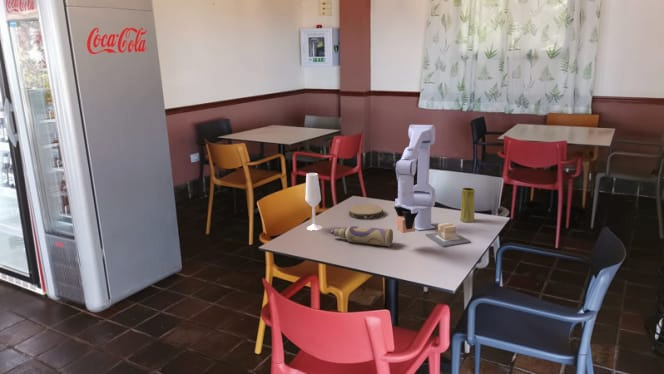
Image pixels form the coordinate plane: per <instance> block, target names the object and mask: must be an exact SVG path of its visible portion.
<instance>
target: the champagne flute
mask: <svg viewBox="0 0 664 374" xmlns="http://www.w3.org/2000/svg"><path fill="white" fill-rule="evenodd" d="M304 197H305V202H306V203H307V204H308V205H309V206H310V207H311V209H312V210H311V212H312V213H311V214H312V224H311V225H309V226H307V227H306V230H308V231H312V230H315V231H320V230H322V229H323V226H321V225H319V224H317V223H316V207H317V206H318V204H319V203H320V202H321V200H322V197H321V188H320V182H319V174H318V173H316V172H309V173H306V177H305V196H304Z"/></svg>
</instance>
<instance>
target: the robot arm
mask: <svg viewBox="0 0 664 374" xmlns="http://www.w3.org/2000/svg"><path fill="white" fill-rule="evenodd" d="M407 134H408V138H409V144H408V146H407V147H406V148H404V151H403V153H402V155H401V157H400V159H399V160H397V162H396V164H395V174H396V180H397V198H395V200H394V201H395V202H394V205H395V206H393V208H394V210H395V212H396V215H397V217H398V216H404V218H405V225H406V229H412V227H413V223H414V220H415V230H417V231H426V230H432V229H435V228H436V227H435V226H434V225H432V208H433V207H434V206H435V204H436V190H435V188H434V186H432V185H430V184H429V182H430V181H429V179H430V155H431V154H430V151H431V147H432V146H433V145H434V144H435V142H436V127H435V125H434V124H414V123H413V124H410V125H409V127H408V133H407ZM416 171H417V179H416V182H417V183H416V184H415V185H414V177H415V174H416Z"/></svg>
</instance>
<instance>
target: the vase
mask: <svg viewBox="0 0 664 374" xmlns="http://www.w3.org/2000/svg"><path fill="white" fill-rule="evenodd" d="M475 191H476V190H475V188H474V187H463V188H462V189H461V203H460V218H459V219H460V222H463V223H474V222H475V221H476V220H475Z"/></svg>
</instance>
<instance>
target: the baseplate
mask: <svg viewBox="0 0 664 374" xmlns="http://www.w3.org/2000/svg"><path fill="white" fill-rule="evenodd" d="M425 237H427V238H428V239H429V240H432V241H433V242H435V243H436V244H438V245H439V246H440V247H443V248H447V247H451V246H453V247H454V246H459V245H464V244H471V243H472V242H471V240H469V239H468V238H466V237H464V236H462V235H461V234H459V233H457V232H456V238H455V239H449V240H444V239H442V238H440V237H439V236H438V231H437V232H432V233H426V234H425Z"/></svg>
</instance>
